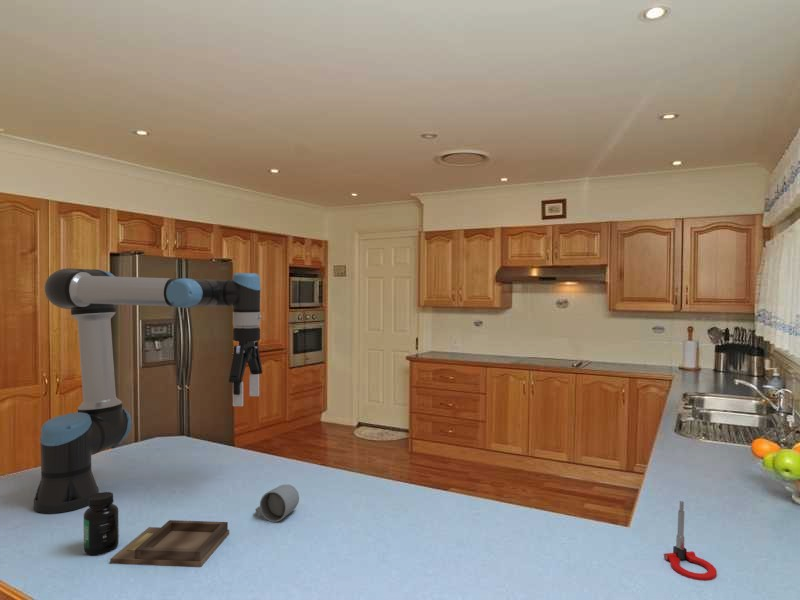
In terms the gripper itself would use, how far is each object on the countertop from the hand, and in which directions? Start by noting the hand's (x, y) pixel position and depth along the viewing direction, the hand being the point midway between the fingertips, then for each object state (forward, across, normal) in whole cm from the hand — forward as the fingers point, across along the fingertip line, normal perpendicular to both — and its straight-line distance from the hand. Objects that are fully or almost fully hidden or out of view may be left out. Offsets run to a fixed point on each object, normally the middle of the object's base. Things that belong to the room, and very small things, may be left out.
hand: (246, 400), depth 150 cm
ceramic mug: (+27, -14, -13) cm, 33 cm away
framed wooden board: (+27, -32, +5) cm, 42 cm away
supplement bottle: (+27, -34, +21) cm, 48 cm away
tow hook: (+26, -35, -108) cm, 116 cm away
